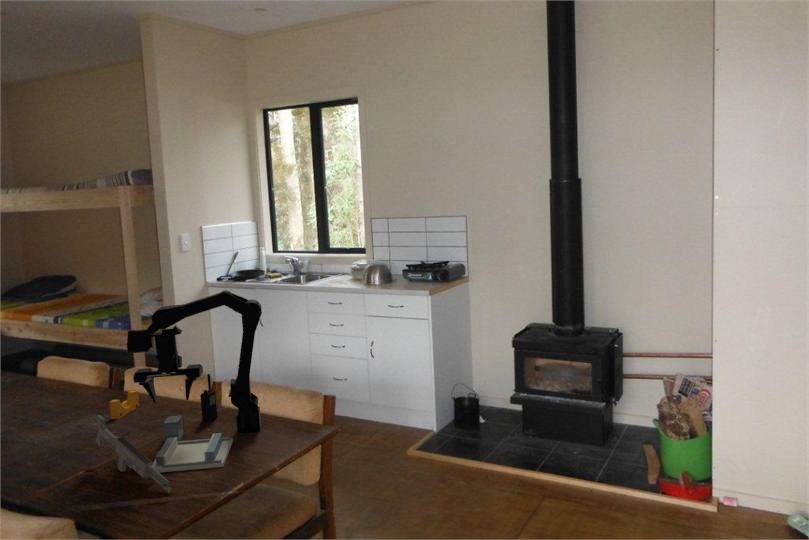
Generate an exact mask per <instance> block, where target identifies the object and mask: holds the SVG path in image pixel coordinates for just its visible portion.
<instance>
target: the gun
mask: <svg viewBox="0 0 809 540" xmlns="http://www.w3.org/2000/svg"><path fill="white" fill-rule="evenodd" d="M95 418H96V419H95V420H96V426H97V434H96V439H95V443H96V444H97V445H98V446H99V447H104V446H105V443H106V442H105V441H107V442H109V444H110V445H112V446H113V447H114V448H115V452H116V453H117V454H118V455H119V456H118V459H117V469H118V470H119V471H120V472H121V473H123V472H126V467H129V469H133V470H134V471H135V472H136V473H137V474H138V475H140V477H141V478H142V479H144V480H145V481H147V480H148V479H150V480H151V479H152V480H154V482H155V483H157V484H158V485H159V486H161V488H162V490H164V491H165V492H167V493H168V494H170V493H172V488H171V484H170V483H171V482H170V481H169V480H168V479H167V478H166V477H165V476H164V475H163V474H161V472H160V473H159V472H158V471H157V470H156V469H154V468H153V467H152V465H153V462H154V461H152V460H151V459H149V458H148V457H147V456H146V455H145V454H144V453H142V452H141V451H140V450H139V449H138V448H137V447H136V446H134V444H132V442H130V441H129V440H128V439H126V438H125V437H124V436H117V435H115V434H113V432H112V431H110V430H109V429H108V428H107V427H106V423H105V422H106V419H105V418H104V417H103V416H102V415H101V414H98V415H96V417H95Z"/></svg>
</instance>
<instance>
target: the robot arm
mask: <svg viewBox="0 0 809 540" xmlns="http://www.w3.org/2000/svg"><path fill="white" fill-rule="evenodd" d="M223 306H226V307H227V308H228V309H231V310H233V311H234V312H236V313H238V314H240V315H241V324H242V325H241V326H242V336H241V345H240V350H239V351H240V353H239V360H238V361H239V362H238V368H237V369H238V370H237V374H236V376H235V377H236V378H231V379H230V383H229V385H230V389H229V393H228V398H230V403H231V404H232V405H233V406H234V407H235V408H237V413H236V416H235V417H236V418H235V420H236V421H235V422H236V429H237V432H238V433H250V432H251V433H252V432H260V431H261V428H262V425H263V424H262V421H261V407H260V405H259V397H258V396H257V395H255V394H254V393H253V392H252V389H251V388H252V387H251V386H252V385H251V376H250V375H251V367H252V360H253V352H254V351H253V350H254V343H255V342H254V341H255V336H256V331H257V328H258V325H259V322H260V319H261V315H262V304H261V303H260V302H259V301H258V300H257V299H253V298H252V299H247V298H245V297H243V296H240V295H237V294H235V293H233V292H231V291H229V290H221V291H220V292H218V293H214V294H211V295H208V296H206V297H201V298H199V299H196V300H193V301H189V302H187V303H183V304H171V305H165V306H161V307H158V308H157V309H156V310H155V311H154V313H152V315H151V324H150V325H148V326H147V328H145V329H143V328H142V329H129V330H128V331H127V339H126V341H127V343H126V349H127V353H128V354H129V355H130V354H139V353H149V352H151V349H154V347H155V351H156V352H155V353H156V355H155V360H156V365H157V370H153V368H152V367H148V368H139V369H138V370H136V372H135V373H134V374H133V379H132V380H133V383H135V384H137V383H138V385H139V386H142V387H143V389H145V391H146V392H147V393H148V395H149V397H150V398H151V400H152V402H153V403H154V404H156V403H157V394H156V389H155V378H164V377H177V376H185V377H186V378H185V379H184V380H185V381H184V384H185V385H184V386H185V387H184V388H185V392H184V393H185V400H186V401H189V400H190V399H189V398H190V395H191V390H192V387H193V383H194V381H197V379H198V378H200V377H201V376H202V375H203V373H204V368H203V365H202V364H201V363H198V364H196V363H195V364H188V365H187V366H186V368H183V357H182V356H181V355H179V354H178V353H179V352H178V349H177V337H176V335H178V336H179V335H181V334H182V332H183V329H181V328H179V326H177V325H176V324H177V323H179V322H180V321H183V320H184V319H186V318H188V317H191V316H194V315H198V314H200V313H205V312H207V311H210V310H214V309H217V308H220V307H223ZM173 325H174V327H173V328H170V327H172V326H173ZM159 330H161V332H158V331H159Z"/></svg>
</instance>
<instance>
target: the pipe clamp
mask: <svg viewBox="0 0 809 540" xmlns="http://www.w3.org/2000/svg"><path fill="white" fill-rule="evenodd" d="M139 407H140V397H139V390H129V391H128V392H127V399H126V400H124V401H121V399H112V400H110V401H109V410H110V411H109V412H110V419H111V420H120V419H121V418H122V417H124V416H125V415H127V414H129V413H131V412H132V411H134V410H136V409H137V408H139Z"/></svg>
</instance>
